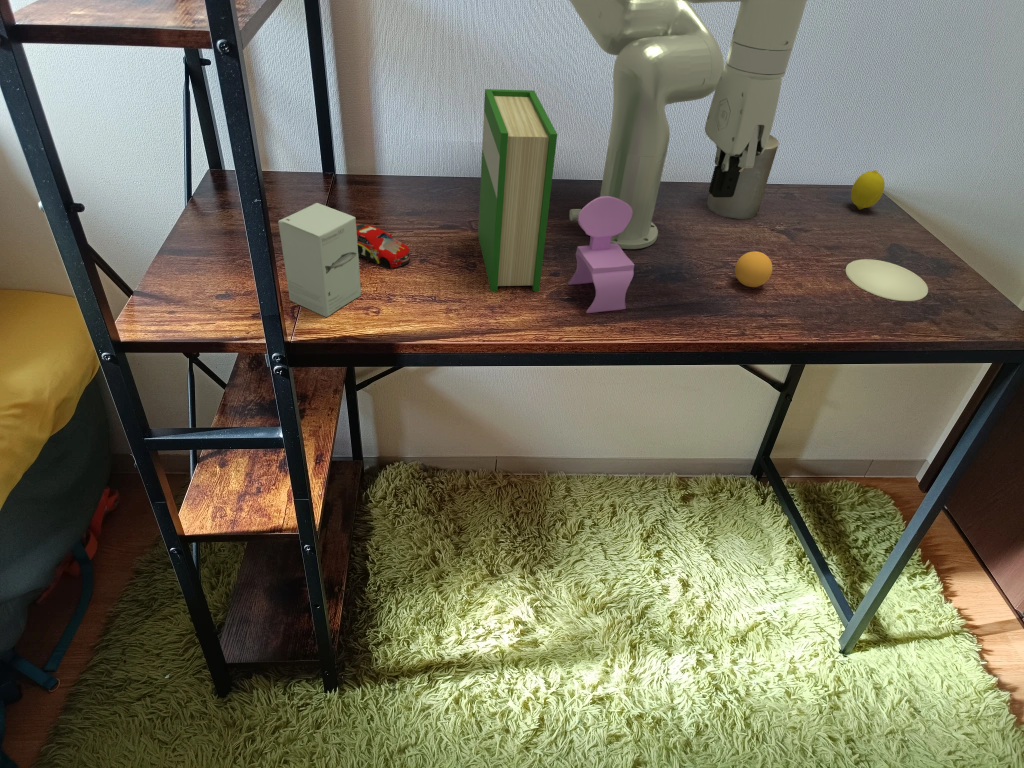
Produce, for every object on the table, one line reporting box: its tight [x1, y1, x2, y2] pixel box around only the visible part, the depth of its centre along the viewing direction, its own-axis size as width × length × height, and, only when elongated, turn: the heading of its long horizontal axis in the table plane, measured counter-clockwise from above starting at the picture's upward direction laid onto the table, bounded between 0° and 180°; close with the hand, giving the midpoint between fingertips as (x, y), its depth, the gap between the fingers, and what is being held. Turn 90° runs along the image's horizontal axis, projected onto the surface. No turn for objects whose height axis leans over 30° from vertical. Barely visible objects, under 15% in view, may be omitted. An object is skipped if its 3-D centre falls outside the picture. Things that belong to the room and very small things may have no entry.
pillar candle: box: [706, 134, 780, 220], centre depth 129 cm, size 10×10×15 cm
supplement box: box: [277, 202, 362, 318], centre depth 96 cm, size 7×7×13 cm
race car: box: [356, 223, 411, 269], centre depth 110 cm, size 13×5×4 cm, turn 58°
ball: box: [734, 251, 773, 288], centre depth 110 cm, size 6×6×6 cm
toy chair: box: [567, 196, 635, 314], centre depth 101 cm, size 8×9×15 cm
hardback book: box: [477, 88, 558, 293], centre depth 104 cm, size 18×7×24 cm, turn 9°
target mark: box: [845, 258, 929, 302], centre depth 116 cm, size 13×13×1 cm
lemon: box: [850, 169, 886, 211], centre depth 135 cm, size 6×6×8 cm
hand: (720, 194), depth 100 cm, fingers closed
